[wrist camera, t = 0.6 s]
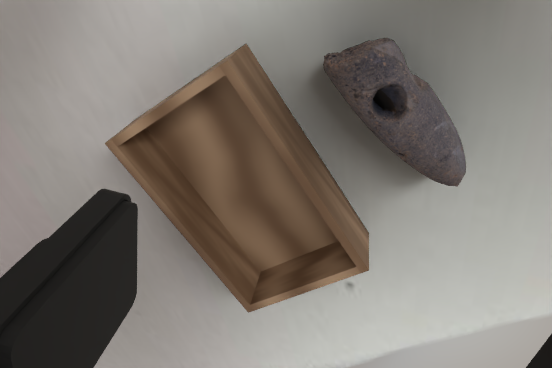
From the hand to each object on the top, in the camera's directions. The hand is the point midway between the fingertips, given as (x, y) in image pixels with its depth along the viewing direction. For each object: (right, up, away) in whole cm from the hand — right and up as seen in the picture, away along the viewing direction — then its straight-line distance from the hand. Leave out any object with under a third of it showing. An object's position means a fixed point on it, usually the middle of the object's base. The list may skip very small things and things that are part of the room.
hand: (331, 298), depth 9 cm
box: (-3, +3, +32) cm, 33 cm away
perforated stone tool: (+9, +10, +26) cm, 29 cm away
